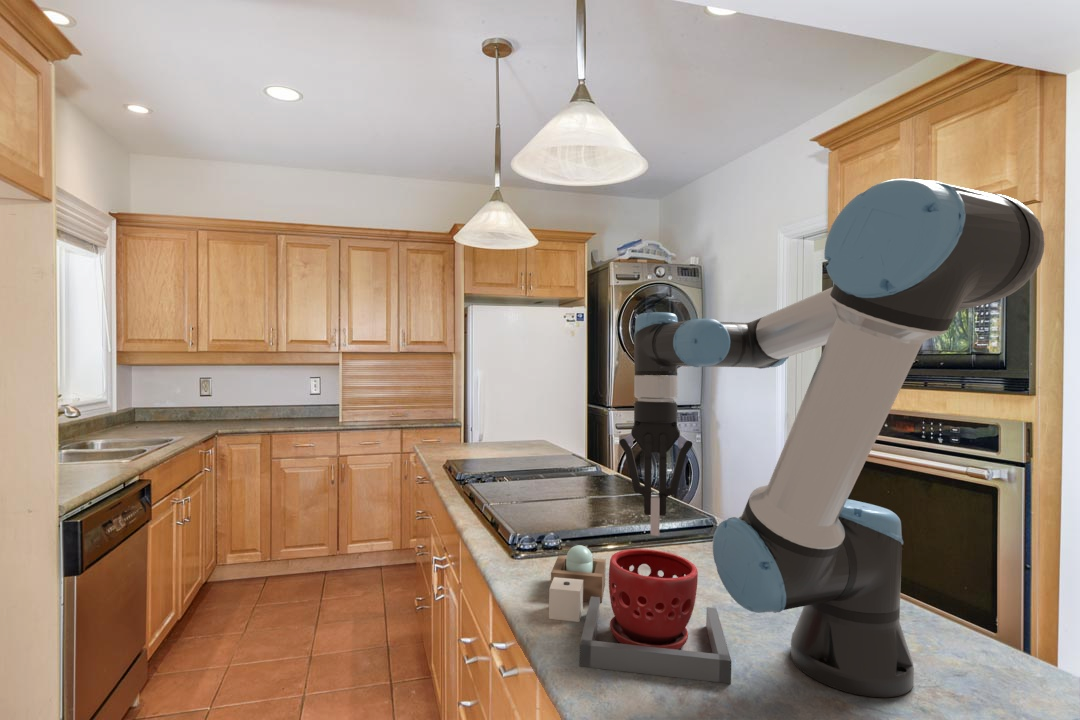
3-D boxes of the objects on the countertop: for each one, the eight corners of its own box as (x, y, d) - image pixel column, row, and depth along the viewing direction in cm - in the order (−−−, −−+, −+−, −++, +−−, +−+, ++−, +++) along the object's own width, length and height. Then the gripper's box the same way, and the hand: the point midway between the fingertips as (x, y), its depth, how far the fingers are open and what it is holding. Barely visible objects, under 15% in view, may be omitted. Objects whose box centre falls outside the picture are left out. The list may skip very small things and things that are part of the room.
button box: (605, 583, 110) (605, 559, 110) (601, 602, 101) (602, 576, 101) (557, 578, 112) (558, 555, 111) (550, 597, 103) (551, 572, 103)
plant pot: (635, 670, 80) (637, 582, 80) (592, 627, 92) (594, 551, 92) (714, 654, 84) (716, 571, 84) (663, 615, 97) (665, 543, 96)
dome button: (593, 579, 108) (594, 542, 108) (590, 589, 103) (591, 551, 103) (567, 577, 109) (568, 540, 109) (564, 587, 104) (564, 549, 104)
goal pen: (715, 626, 93) (716, 608, 93) (730, 683, 77) (731, 661, 77) (590, 614, 96) (590, 596, 96) (579, 666, 80) (579, 644, 80)
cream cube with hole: (582, 609, 99) (583, 578, 99) (579, 622, 94) (580, 590, 94) (553, 606, 100) (554, 575, 99) (548, 619, 95) (549, 587, 95)
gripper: (691, 399, 106) (691, 530, 106) (619, 398, 109) (618, 526, 108) (695, 401, 99) (694, 541, 98) (617, 400, 101) (616, 537, 101)
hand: (654, 533), depth 103 cm, fingers closed
